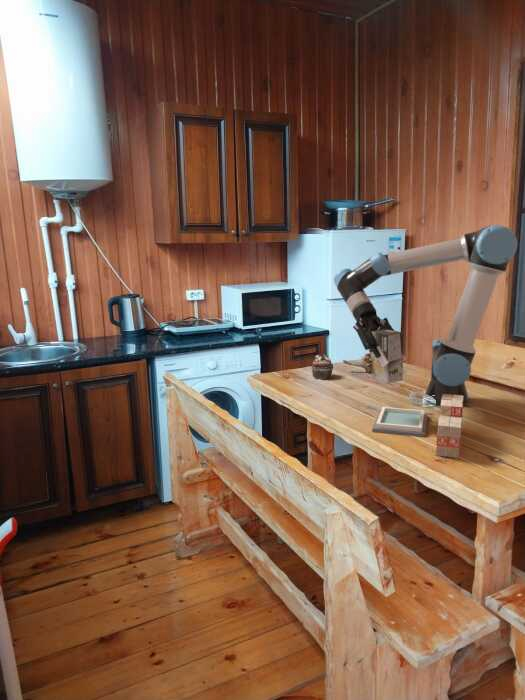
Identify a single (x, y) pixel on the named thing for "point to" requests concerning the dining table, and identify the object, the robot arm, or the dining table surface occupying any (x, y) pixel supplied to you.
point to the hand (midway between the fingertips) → (394, 363)
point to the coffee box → (388, 356)
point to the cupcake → (322, 367)
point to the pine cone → (363, 362)
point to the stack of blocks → (450, 426)
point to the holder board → (401, 421)
